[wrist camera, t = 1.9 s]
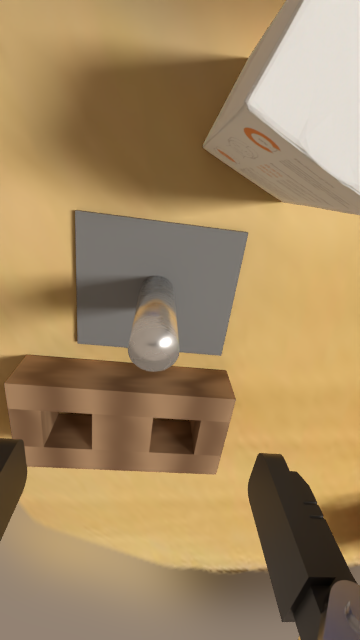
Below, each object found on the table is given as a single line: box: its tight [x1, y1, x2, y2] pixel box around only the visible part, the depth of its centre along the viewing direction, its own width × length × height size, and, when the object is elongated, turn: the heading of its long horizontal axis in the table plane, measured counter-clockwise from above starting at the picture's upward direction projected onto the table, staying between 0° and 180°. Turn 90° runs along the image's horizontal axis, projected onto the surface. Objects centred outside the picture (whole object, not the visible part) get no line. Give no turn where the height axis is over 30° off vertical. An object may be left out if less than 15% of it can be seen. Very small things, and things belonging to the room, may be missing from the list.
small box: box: [203, 0, 360, 215], centre depth 16 cm, size 8×6×13 cm
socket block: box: [4, 355, 236, 474], centre depth 30 cm, size 20×10×4 cm, turn 83°
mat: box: [75, 210, 248, 356], centre depth 26 cm, size 14×12×1 cm
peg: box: [128, 276, 180, 372], centre depth 22 cm, size 3×3×10 cm
